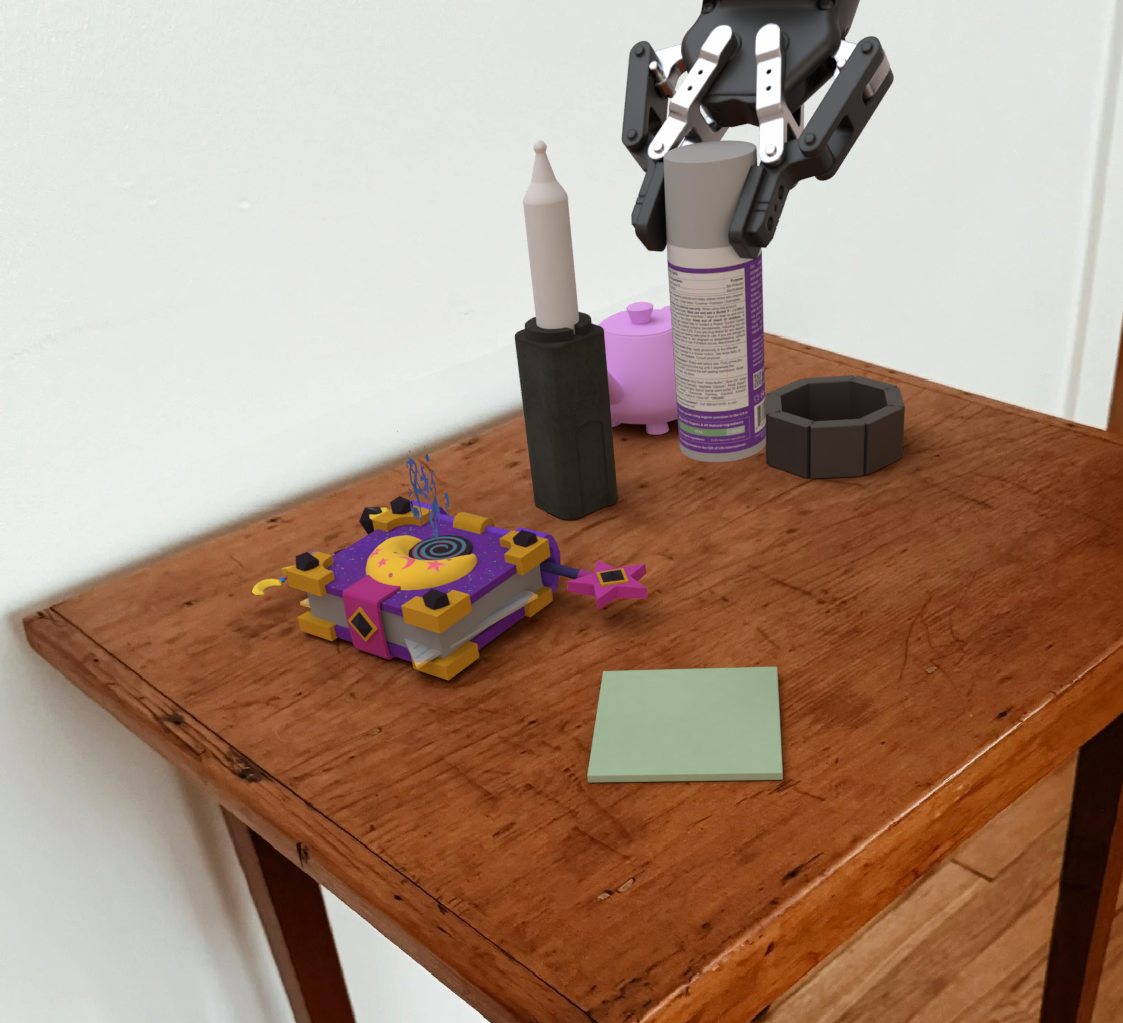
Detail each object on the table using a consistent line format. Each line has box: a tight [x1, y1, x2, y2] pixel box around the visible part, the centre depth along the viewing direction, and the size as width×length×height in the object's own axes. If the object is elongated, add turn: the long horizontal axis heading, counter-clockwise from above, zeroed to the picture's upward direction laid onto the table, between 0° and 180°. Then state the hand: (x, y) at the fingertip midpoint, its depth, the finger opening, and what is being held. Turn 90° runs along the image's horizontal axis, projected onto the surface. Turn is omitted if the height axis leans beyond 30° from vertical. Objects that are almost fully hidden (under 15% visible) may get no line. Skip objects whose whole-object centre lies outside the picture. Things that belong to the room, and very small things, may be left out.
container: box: [664, 140, 766, 463], centre depth 66 cm, size 5×5×15 cm
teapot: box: [597, 301, 678, 436], centre depth 105 cm, size 10×15×9 cm
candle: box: [514, 139, 619, 521], centre depth 89 cm, size 5×5×25 cm
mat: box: [586, 666, 784, 783], centre depth 71 cm, size 10×10×1 cm
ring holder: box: [765, 374, 906, 480], centre depth 98 cm, size 10×10×4 cm
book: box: [251, 430, 648, 681], centre depth 80 cm, size 14×25×12 cm, turn 54°
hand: (694, 245), depth 63 cm, fingers closed on container, 4 cm apart
